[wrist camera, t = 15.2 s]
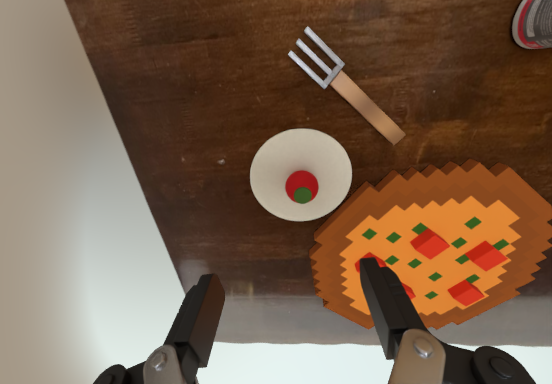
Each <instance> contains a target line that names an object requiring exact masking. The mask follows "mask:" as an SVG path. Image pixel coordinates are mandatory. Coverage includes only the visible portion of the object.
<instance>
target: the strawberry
mask: <svg viewBox="0 0 552 384" xmlns="http://www.w3.org/2000/svg"><path fill="white" fill-rule="evenodd" d="M318 189H319V185H318V181H317V179H316V177H315V176H314V175H313V174H312V173H310V172H308V171H304V170H300V171H296V172H294V173H292V174H291V175H290V176H289V177H288V179H287V181H286V184H285V190H286V193H287V195H288V197H289V198H290V199H291V200H292V201H294V202H296V203H300V204H305V203H308V202H310V201H312V200H313V199H314V198H315V197H316V195H317V193H318Z"/></svg>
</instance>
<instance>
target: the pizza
mask: <svg viewBox="0 0 552 384" xmlns="http://www.w3.org/2000/svg"><path fill="white" fill-rule="evenodd" d="M550 219H552V206H551V205H550V204H549V203H548V202H547V201H545V200H544V199H543V198H542V197H541V196H540V195H539V194H538V193H537V192H536V191H535V190H534V189H533V188H531V187H530V186H529V185H528V184H527V183H526V182H525V181H524V180H523V179H522V178H521V177H520V176H518V175H517V174H516V173H515V172H514V171H513V170H512V169H511V168H510V167H508V166H506V165H503V164H501V163H499V162H498V163H496V164H495V165H494V166H492V167H491V168H490V169H489V170H487V169H486V168H485V167H484V166H483V165H482V164H481V163H479V162H477V161H475V160H473V159H471V158H469V159H468V160H467V161H466V162H464V163H463V164H462V165H461V166H458V165H457V164H455V163H453V162H451V161H449V162H448V163H447V164H446V165H445V166H444V167H442V168H441V169H440V170H439V169H438V168H437V167H435V166H433V165H432V164H430V165H429V166H428V167H426V168H425V169H424V170H423V171H422V172H421V173H420V172H418V171H417V170H416V169H414V168H413V167H411V168H409V169H408V170H407V171H406V172H405V173H404V174H403V175H402V176H401V175H400V174H399V173H398V172H396V171H395V170H394V169H393V170H392V171H391V172H390V173H389V174H388V175H387V176H386V177H384V178H383V179H382V180H381V181H380V182H379V183H378V184H377V185H376V186H375V187H374V186H373V185H371V184H370V183H369V182H367V181H365V182H364V183H363V184H362V185H361V186H360V187H359V188H358V189H357V190H356V191H355V192H354V193H353V194H352V195H351V196H350V197H349V198H348V199H347V200H346V201H345V202H344V203H343V204H342V205H341V206H340V207H339V208H338V209H337V210H336V211H335V212H334V213H333V214H332V215H331V216H330V217H329V218H328V219H327V220H326V221H325V222H324V223H323V224H322V225H321V226H320V227H319V228H318V229H317V230H316V231H315V232H314V240H315V241H317V243H316V244H315V245H314V246H313V247H312V248H311V249H310V250H309V256H310V258H312V259H311V260H310V261H311V268H313V269H312V274H313V278H314V279H313V280H314V286H315V294H316V295H317V296H319V297H321V298H323V304H324V307H326V308H328V309H330V310H332V311H333V312H335V313H337V314H339V315H341V316H343V317H345V318H347V319H349V320H351V321H353V322H355V323H357V324H359V325H361V326H363V327H365V328H367V329H370V328H372V327H373V326H375V325H374V322H373V319H372V316H371V313H370V310H369V307H368V305H367V302H366V299H365V296H364V293H363V290H362V287H361V282H360V258H368V257H375V258H376V260H377V262H378V264H379V266H380V267H387V266H388V267H389V268H390V269H391V270H393V271H394V272H395V273H396V274H397V276H398V277H399V279H400V281H401V283H402V286H403V287H404V288H405V290H406V293H407V294H408V296H409V298H410V299H411V301H412V303H413V305H414V307H415V309H416V311H417V312H418V314H419V316H420V318H421V320H422V322H423V323H424V325H425V327H426V328H429V327H433V328H435V329H439V328H441V327H443V326H445V325H447V324H449V323H451V322H453V323H455V324H457V325H459V324H461V323H463V322H465V321H467V320H469V319H471V318H473V317H475V316H477V315H479V314H481V313H483V312H485V311H487V310H489V309H491V308H493V307H495V306H497V305H499V304H501V303H503V302H505V301H507V300H509V299H511V298H513V297H515V296H517V295H519V294H520V293H519V292H518V291H517V290H516V289H517V288H519V287H521V286H523V285H525V284H527V283H529V282H531V281H533V280H534V279H535V278H534V277H533V276H532V275H530V274H532V273H534V272H535V271H537V270H539V269H541V268H540V267H538V266H537V265H536V263H538V262H539V261H541V260H543V259H545V258H547V257H546V256H544V255H543V254H542V253H541V252H543V251H544V250H546V249H548V248H550V247H552V245H551V244H550V243H549V242H548V241H547V240H548V239H550V238H552V226H551V225H550V224H548V223H547V221H549V220H550Z"/></svg>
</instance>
